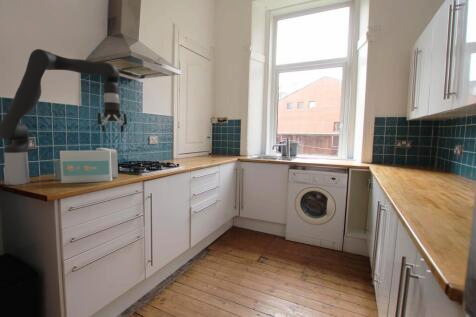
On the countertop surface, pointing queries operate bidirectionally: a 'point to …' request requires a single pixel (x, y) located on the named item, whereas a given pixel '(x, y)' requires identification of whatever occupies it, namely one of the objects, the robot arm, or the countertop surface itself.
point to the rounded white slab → (112, 161)
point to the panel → (101, 169)
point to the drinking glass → (57, 169)
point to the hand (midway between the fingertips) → (113, 132)
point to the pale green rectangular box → (84, 157)
